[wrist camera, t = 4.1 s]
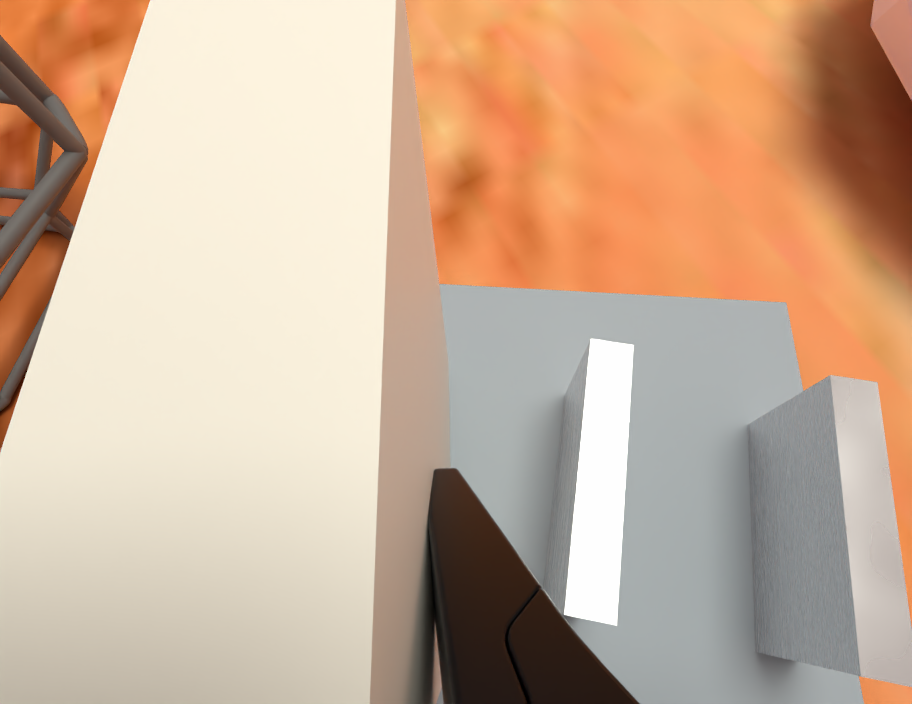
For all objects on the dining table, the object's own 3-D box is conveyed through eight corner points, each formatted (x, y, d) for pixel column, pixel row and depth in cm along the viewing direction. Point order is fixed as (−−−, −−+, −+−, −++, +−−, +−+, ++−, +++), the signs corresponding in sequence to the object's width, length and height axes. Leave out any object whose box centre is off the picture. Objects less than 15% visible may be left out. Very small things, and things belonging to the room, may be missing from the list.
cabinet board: (857, 835, 13) (894, 858, 12) (215, 761, 14) (193, 776, 13) (767, 319, 18) (786, 302, 17) (317, 294, 19) (307, 277, 18)
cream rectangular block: (453, 650, 14) (361, 924, 3) (314, 653, 14) (-351, 931, 3) (448, 363, 17) (398, -58, 6) (336, 366, 17) (77, -41, 6)
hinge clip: (796, 660, 13) (919, 688, 10) (540, 606, 14) (564, 614, 10) (783, 430, 16) (877, 382, 12) (564, 394, 16) (590, 338, 13)
